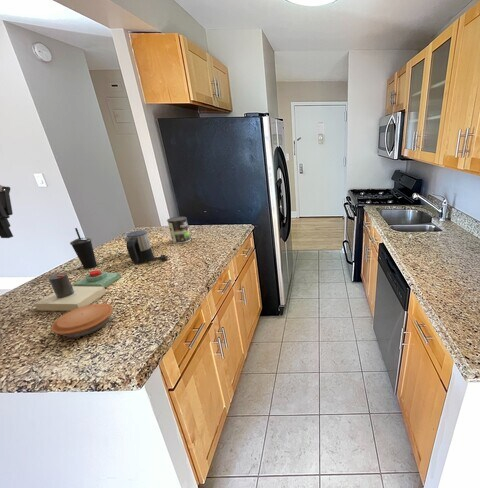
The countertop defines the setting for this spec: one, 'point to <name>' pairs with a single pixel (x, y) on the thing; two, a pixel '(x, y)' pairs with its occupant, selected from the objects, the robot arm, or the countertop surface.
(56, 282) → the hob knob
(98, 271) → the button
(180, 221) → the coffee can
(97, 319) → the pie
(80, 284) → the red push button panel
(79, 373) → the countertop surface
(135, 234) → the milk frother
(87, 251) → the drinking cup
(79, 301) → the hob console
